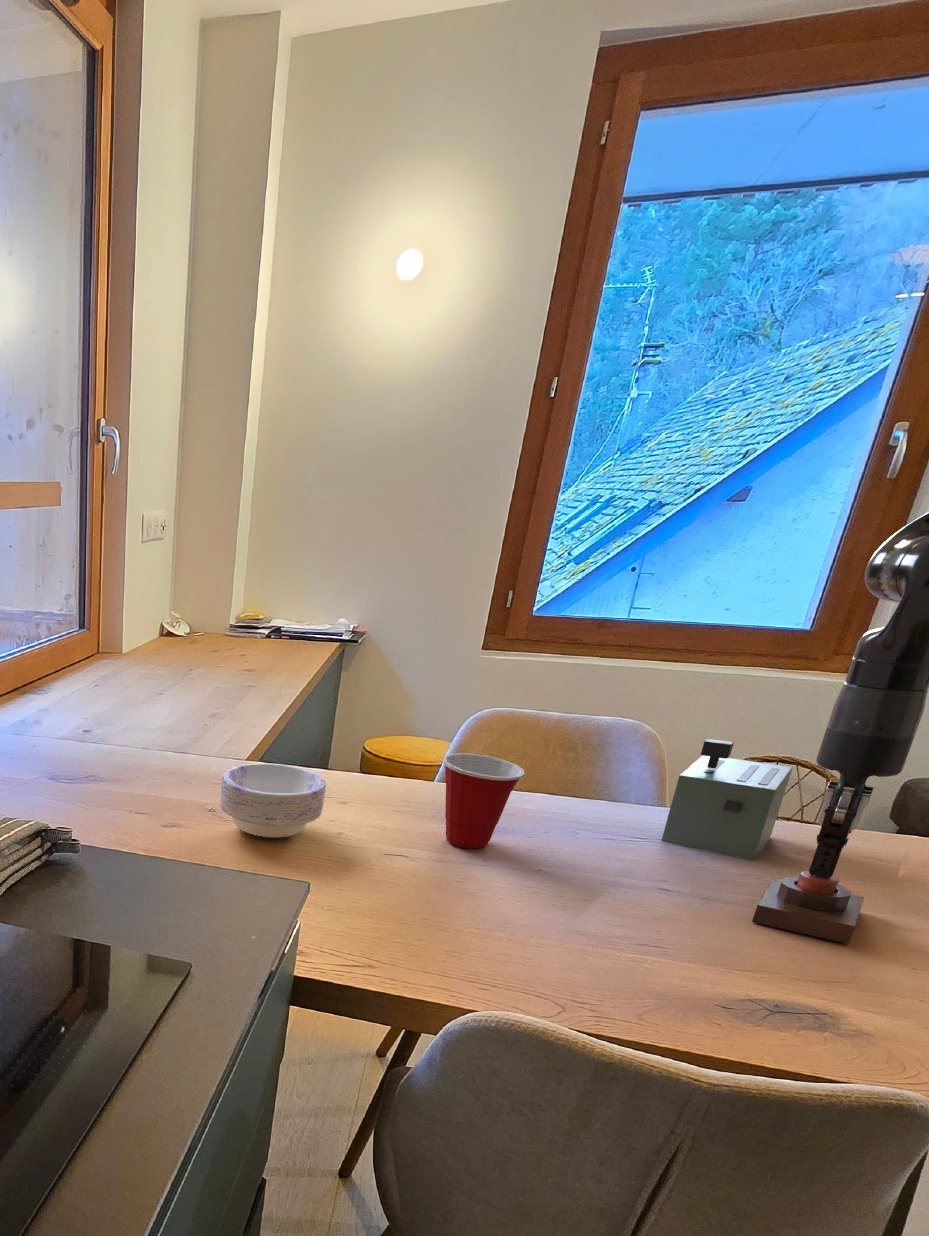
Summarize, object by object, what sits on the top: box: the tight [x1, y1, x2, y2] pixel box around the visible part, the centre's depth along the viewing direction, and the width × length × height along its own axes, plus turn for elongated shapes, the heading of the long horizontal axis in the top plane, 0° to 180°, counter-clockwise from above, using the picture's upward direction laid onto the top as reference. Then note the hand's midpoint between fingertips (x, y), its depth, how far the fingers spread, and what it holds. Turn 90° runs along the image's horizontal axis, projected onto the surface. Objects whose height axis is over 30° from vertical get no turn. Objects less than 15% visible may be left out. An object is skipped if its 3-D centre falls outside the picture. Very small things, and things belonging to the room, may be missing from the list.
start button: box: [797, 870, 840, 894], centre depth 109 cm, size 4×4×2 cm
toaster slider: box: [700, 738, 735, 768], centre depth 131 cm, size 2×3×4 cm
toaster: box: [660, 755, 793, 861], centre depth 133 cm, size 18×11×11 cm, turn 137°
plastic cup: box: [443, 752, 526, 849], centre depth 133 cm, size 11×11×12 cm
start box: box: [751, 876, 865, 945], centre depth 110 cm, size 12×9×4 cm
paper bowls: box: [219, 762, 327, 838], centre depth 139 cm, size 15×15×8 cm
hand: (820, 874), depth 109 cm, fingers closed
